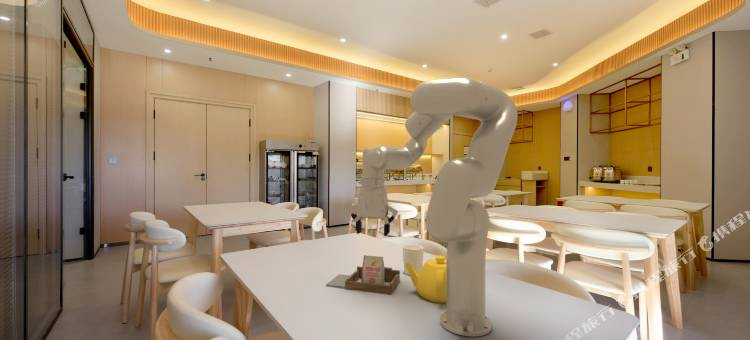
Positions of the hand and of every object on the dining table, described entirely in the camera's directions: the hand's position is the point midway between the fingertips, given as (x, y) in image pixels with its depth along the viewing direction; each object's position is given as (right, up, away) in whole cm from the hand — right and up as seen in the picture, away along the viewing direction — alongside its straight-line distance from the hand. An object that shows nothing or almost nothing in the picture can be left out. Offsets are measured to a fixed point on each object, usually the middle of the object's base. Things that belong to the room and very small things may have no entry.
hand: (372, 234), depth 108 cm
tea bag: (0, -18, 0) cm, 18 cm away
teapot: (+22, -18, -8) cm, 29 cm away
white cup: (+15, -18, +13) cm, 27 cm away
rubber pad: (-11, -17, +3) cm, 21 cm away
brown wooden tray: (0, -17, 0) cm, 17 cm away
